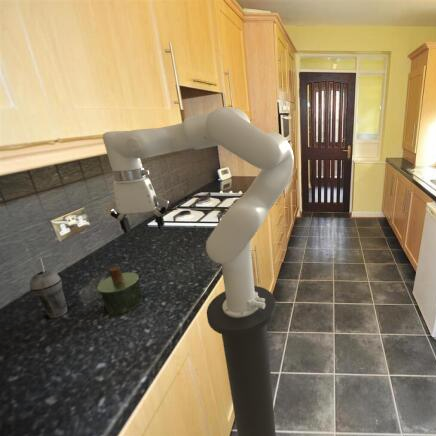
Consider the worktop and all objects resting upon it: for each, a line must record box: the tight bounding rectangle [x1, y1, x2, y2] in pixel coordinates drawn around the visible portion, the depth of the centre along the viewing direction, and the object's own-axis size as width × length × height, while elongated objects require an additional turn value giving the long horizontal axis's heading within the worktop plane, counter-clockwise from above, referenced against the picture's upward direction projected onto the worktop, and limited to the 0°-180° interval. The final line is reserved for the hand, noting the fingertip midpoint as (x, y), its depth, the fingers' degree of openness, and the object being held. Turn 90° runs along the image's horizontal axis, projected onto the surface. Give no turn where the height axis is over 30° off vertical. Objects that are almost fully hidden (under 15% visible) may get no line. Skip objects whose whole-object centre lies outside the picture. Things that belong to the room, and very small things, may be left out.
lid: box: [96, 265, 140, 294], centre depth 88 cm, size 11×11×6 cm
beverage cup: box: [29, 257, 68, 319], centre depth 84 cm, size 7×7×20 cm
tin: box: [100, 280, 144, 315], centre depth 90 cm, size 10×10×8 cm
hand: (144, 229), depth 84 cm, fingers open, 9 cm apart
